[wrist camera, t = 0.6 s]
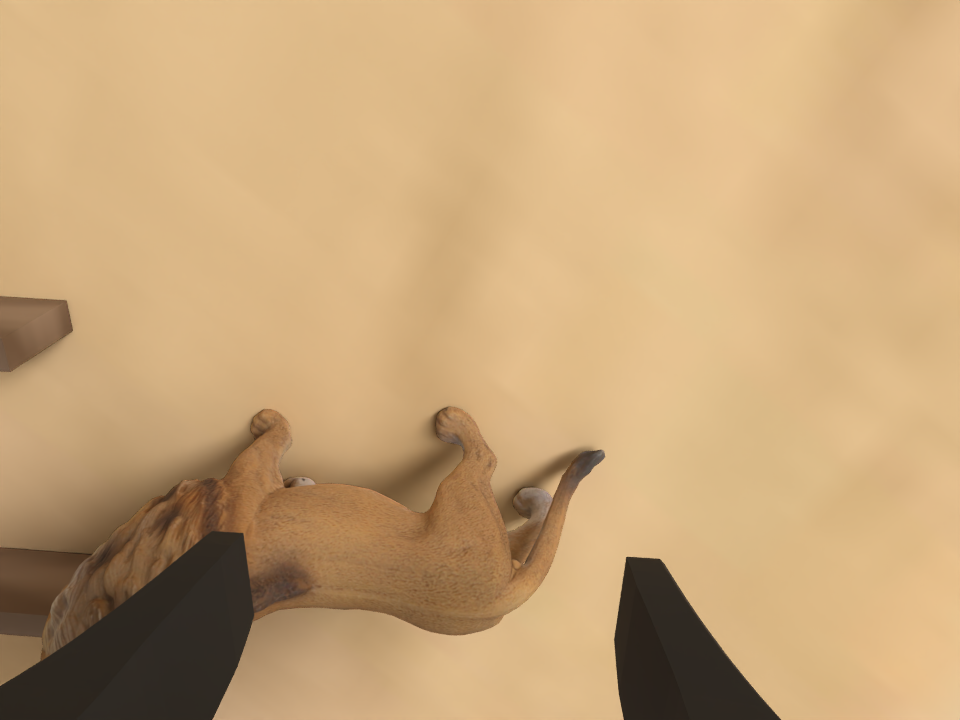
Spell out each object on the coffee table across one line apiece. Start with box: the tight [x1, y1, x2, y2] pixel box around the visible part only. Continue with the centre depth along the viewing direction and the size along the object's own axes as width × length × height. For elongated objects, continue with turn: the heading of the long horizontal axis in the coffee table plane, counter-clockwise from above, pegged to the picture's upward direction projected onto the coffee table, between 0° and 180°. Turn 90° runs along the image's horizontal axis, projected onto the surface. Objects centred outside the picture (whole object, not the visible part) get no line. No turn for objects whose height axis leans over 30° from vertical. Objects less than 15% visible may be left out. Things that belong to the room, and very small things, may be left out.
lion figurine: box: [41, 407, 605, 661], centre depth 20 cm, size 15×5×9 cm, turn 99°
